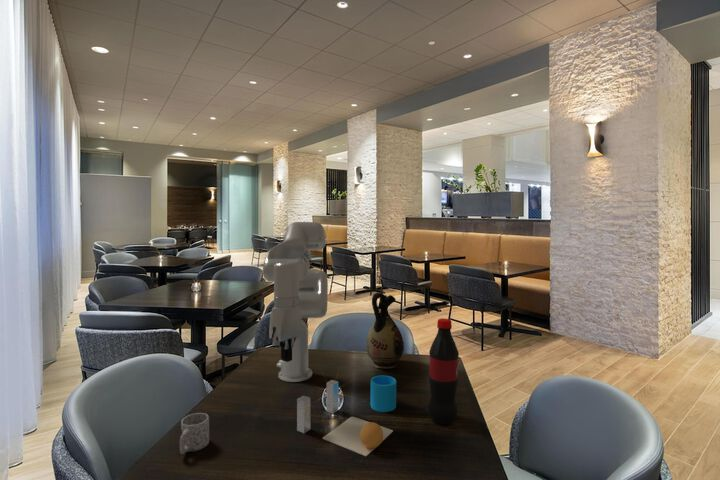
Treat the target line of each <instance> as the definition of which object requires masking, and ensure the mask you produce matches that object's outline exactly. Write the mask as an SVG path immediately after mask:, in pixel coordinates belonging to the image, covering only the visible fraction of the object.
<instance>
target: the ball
mask: <svg viewBox="0 0 720 480" xmlns="http://www.w3.org/2000/svg"><path fill="white" fill-rule="evenodd" d="M369 422H370V421H369ZM380 426H381V425H379V424H378V423H376V422H372V421H371V422H370V423H367V424H365V425H364V426H363V427H362V429H361V432H360V438H361V441H362V443H363V444H364V445H365V446H366V447H368V448H375V449H376V448H378V447H379V446H380V445H381V444H382V443H383V441H384V440H383V431H382V428H381V427H380ZM382 440H383V441H382Z"/></svg>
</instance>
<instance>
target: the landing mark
mask: <svg viewBox="0 0 720 480" xmlns="http://www.w3.org/2000/svg"><path fill="white" fill-rule="evenodd" d="M367 423H370V421H368V420H367V421H366V420H364V419H362V418H359V417H355V416H350V417H349V418H347V419H346V420H345V421H343V422H342V423H341V424H339V425H338V426H337V427H335V428H333V429H332V430H331V431H329V432H328V433H327V434H326V435H324V436H323V437H322V440H324V441H327V442H330V443H332V444H335V445H337V446H339V447H341V448H344V449H347V450H349V451H351V452H354V453H356V454H359V455H361V456H364V457H367V456H368V455H370V454H371V452H373V451H374V450H375V449H376V448H368V447H366V446H365V445H364V444H363V443H362V441H361V438H360V432H361V429H362V427H363V426H364V425H365V424H367ZM379 426H380V427H381V428H382V431H383V440H382V442H384V440H386V438H388V437H389V436H390V435H391V434H392V433H393V432H394V430H393V429H390V428H387V427H385V426H381V425H379Z"/></svg>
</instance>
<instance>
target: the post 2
mask: <svg viewBox="0 0 720 480" xmlns="http://www.w3.org/2000/svg"><path fill="white" fill-rule="evenodd" d="M338 411H339V381H338V380H337V381H336V380H334V379H331V380H329V381H327V382H326V412H327V413H329V414H335V413H337V412H338Z"/></svg>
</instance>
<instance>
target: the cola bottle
mask: <svg viewBox="0 0 720 480" xmlns="http://www.w3.org/2000/svg"><path fill="white" fill-rule="evenodd" d="M452 325H453V324H452V320H451V319H450V318H449V319H448V318H444V317H443V318H438V319H437V327H436V328H437V329H438V330H437V332H436V336H435V338H434V339H433V341H432V344H431V346H430V349H429V352H428V353H429V374H428V375H429V376H428V380H429V388H430V389H429V390H430V393H431V394H430V400H429V402H428V405H427V406H428V407H427V408H428V415H429V416H430V417H429V418H430V419H431V420H432V421H433V422H434V423H437V424H439V425H450V424H452V423H454V422H455V421H456V420H457V416H458V413H459V411H458V408H459V407H458V405H457V402H456V395H457V390H458V389H457V388H458V384H459V375H458V374H459V350H458V347H457V345H456V342H455V340H454V338H453V336H452V332H451V329H452Z"/></svg>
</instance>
